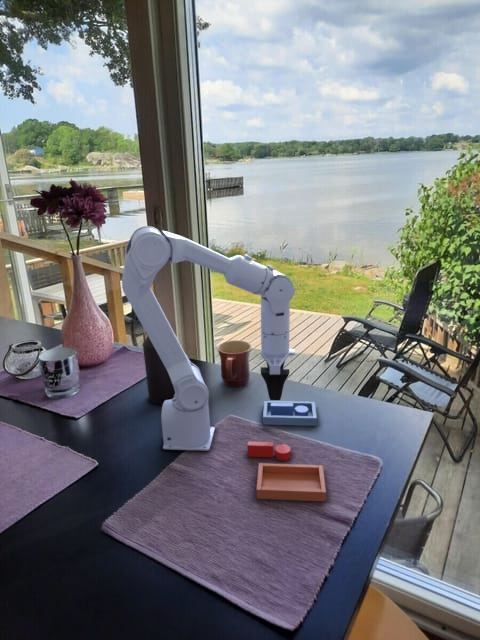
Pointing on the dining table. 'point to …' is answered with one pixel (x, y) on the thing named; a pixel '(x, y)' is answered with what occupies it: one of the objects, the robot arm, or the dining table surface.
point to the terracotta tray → (291, 482)
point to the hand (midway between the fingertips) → (275, 390)
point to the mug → (234, 363)
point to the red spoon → (268, 450)
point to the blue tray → (290, 420)
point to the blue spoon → (288, 409)
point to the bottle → (156, 375)
